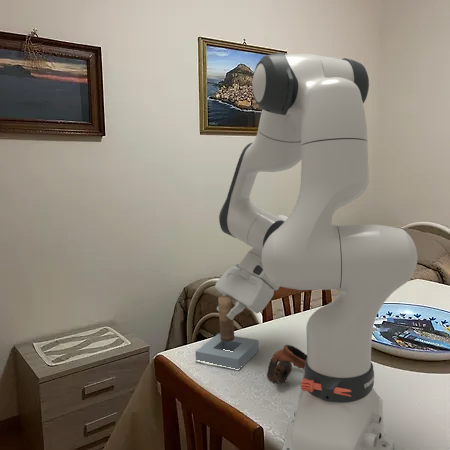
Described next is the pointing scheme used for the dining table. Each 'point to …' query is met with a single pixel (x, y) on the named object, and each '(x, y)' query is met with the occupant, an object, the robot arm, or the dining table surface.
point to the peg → (225, 318)
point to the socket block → (235, 359)
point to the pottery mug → (285, 363)
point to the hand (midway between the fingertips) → (223, 314)
